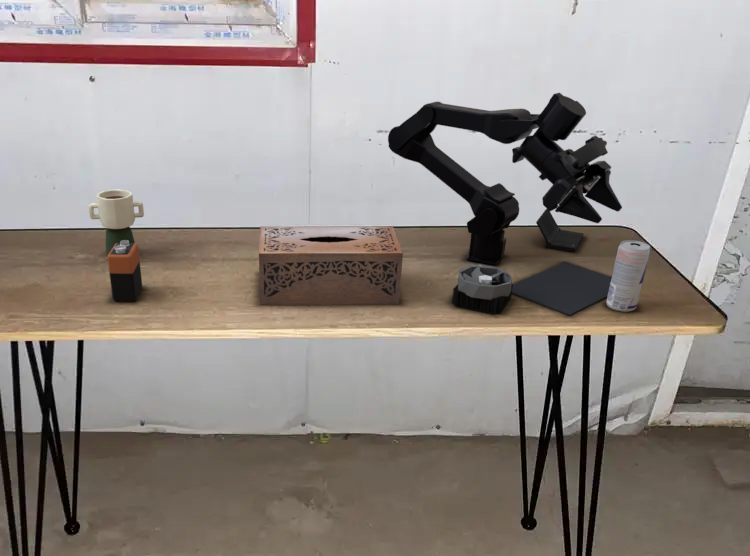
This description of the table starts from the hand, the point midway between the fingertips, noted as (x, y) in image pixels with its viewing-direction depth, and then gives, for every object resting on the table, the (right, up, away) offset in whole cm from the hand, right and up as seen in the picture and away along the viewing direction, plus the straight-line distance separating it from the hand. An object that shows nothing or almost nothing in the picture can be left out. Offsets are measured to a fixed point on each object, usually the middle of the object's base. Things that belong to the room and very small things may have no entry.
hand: (610, 215), depth 143 cm
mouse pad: (-5, -12, +8) cm, 16 cm away
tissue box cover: (-52, -13, +7) cm, 54 cm away
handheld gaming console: (0, 0, +31) cm, 31 cm away
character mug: (-95, -4, +21) cm, 98 cm away
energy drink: (+2, -17, +1) cm, 17 cm away
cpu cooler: (-23, -16, +2) cm, 28 cm away
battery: (-90, -15, +3) cm, 91 cm away
